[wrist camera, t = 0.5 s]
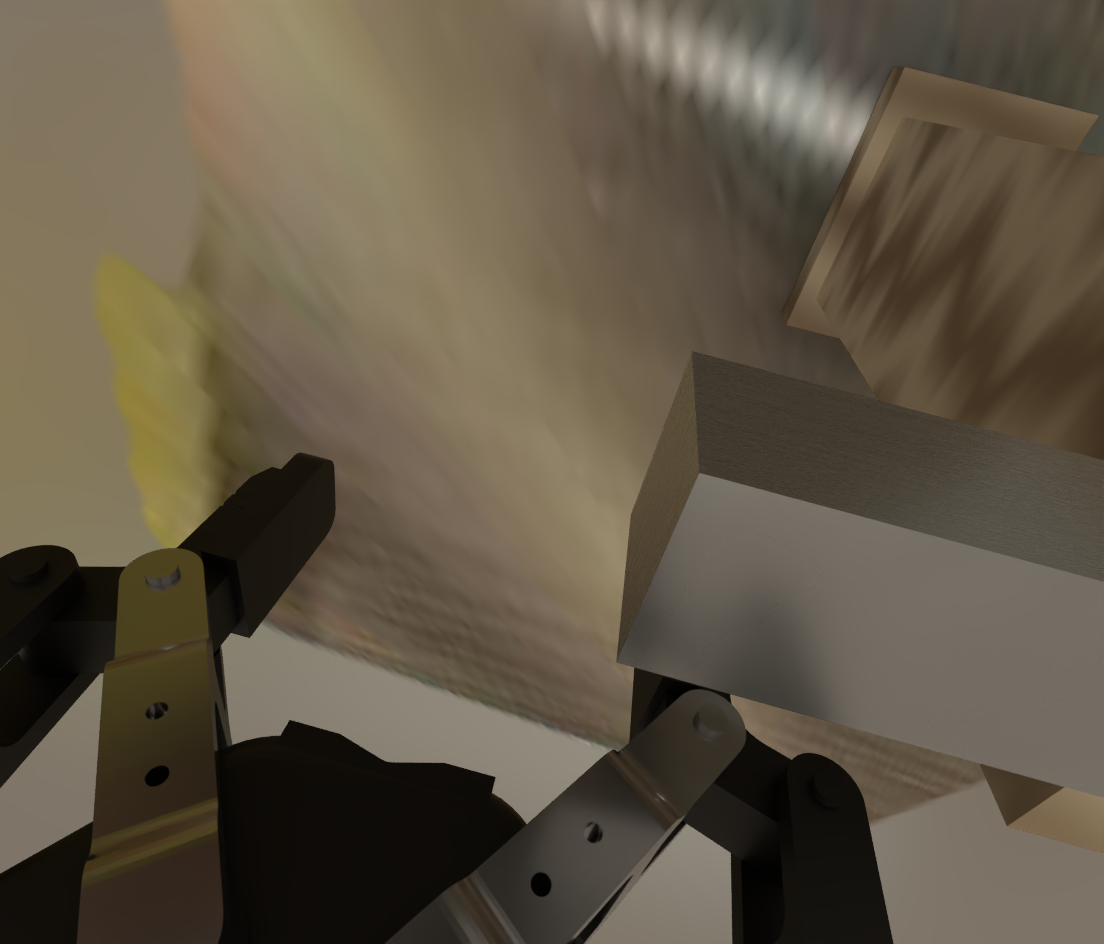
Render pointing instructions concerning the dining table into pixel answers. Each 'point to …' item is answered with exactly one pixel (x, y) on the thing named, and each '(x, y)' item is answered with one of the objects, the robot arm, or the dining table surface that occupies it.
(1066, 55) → the dining table surface
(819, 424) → the grey elongated piece
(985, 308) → the stand
